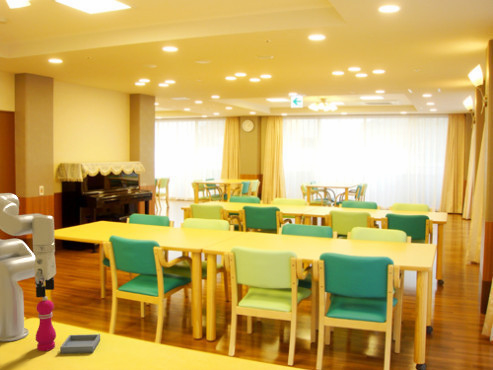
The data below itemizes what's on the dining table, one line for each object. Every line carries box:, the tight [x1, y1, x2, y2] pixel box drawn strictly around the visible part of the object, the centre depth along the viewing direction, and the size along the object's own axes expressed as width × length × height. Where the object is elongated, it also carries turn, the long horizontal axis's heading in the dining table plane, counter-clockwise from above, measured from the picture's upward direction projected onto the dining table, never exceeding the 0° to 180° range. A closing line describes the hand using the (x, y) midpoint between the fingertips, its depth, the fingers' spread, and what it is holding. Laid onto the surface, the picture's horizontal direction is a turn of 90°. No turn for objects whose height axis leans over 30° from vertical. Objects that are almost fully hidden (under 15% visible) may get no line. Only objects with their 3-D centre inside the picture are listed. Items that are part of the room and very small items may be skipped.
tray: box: [60, 333, 101, 355], centre depth 181 cm, size 12×12×2 cm
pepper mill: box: [35, 296, 57, 352], centre depth 180 cm, size 7×7×20 cm
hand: (45, 293), depth 179 cm, fingers open, 9 cm apart
